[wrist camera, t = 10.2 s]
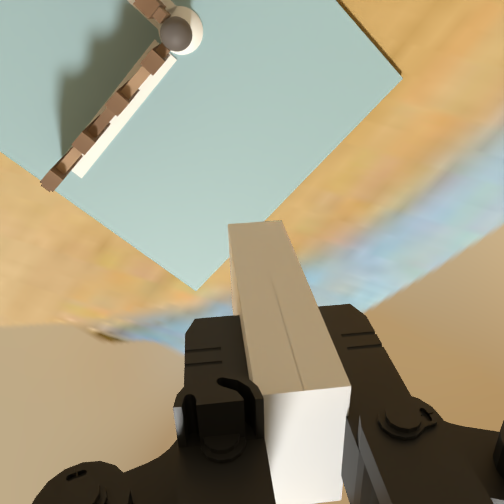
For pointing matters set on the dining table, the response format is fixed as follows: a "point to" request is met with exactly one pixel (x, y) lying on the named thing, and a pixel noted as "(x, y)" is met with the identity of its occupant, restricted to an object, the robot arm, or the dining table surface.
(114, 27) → the board
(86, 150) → the fence panel
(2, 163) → the dining table surface
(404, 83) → the dining table surface
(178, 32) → the fence fixed
